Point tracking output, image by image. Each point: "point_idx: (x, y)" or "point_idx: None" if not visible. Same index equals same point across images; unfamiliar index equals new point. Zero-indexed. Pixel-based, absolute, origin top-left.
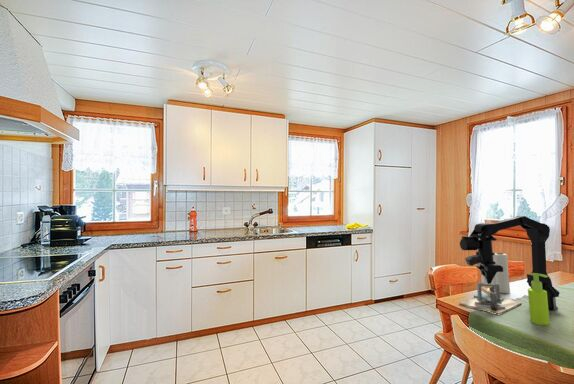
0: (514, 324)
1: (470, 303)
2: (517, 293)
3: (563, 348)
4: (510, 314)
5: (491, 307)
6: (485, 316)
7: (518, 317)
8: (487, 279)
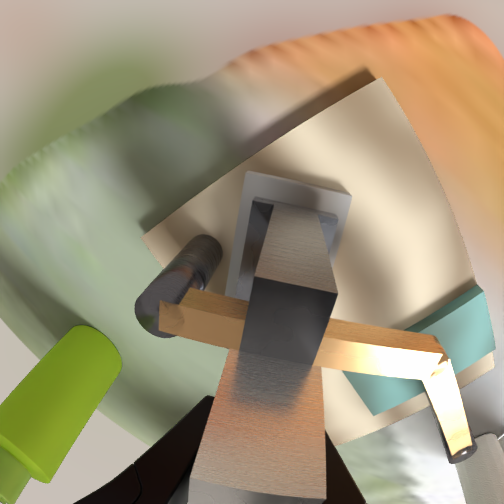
0: (47, 228)
1: (358, 161)
2: (439, 474)
3: None
4: None
5: (200, 240)
6: (129, 137)
7: (134, 316)
8: (164, 437)
